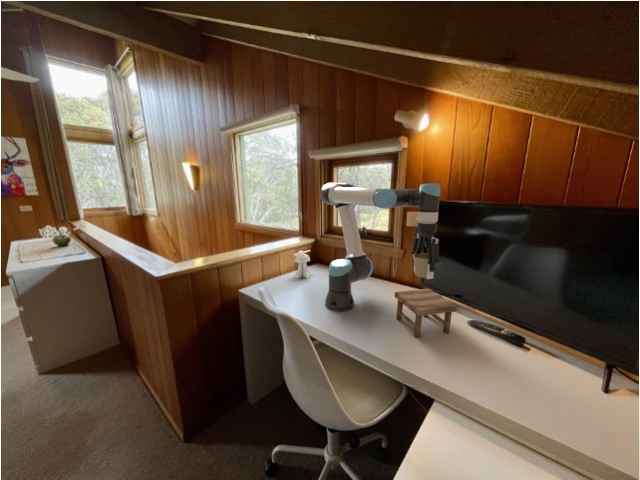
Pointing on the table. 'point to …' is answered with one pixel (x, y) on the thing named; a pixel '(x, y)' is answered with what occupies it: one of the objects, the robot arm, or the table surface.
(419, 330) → the walnut stool
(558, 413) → the table surface
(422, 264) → the flower pot
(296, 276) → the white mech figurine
